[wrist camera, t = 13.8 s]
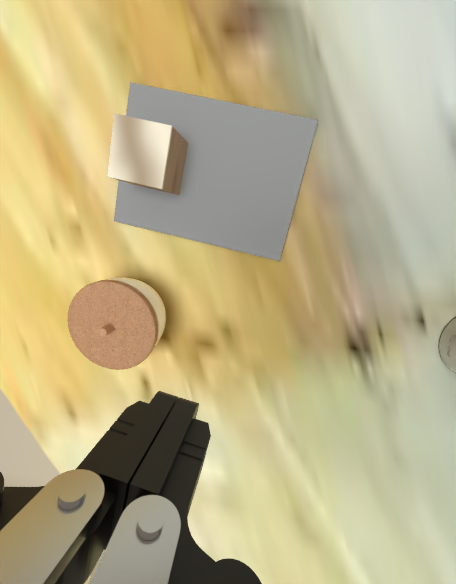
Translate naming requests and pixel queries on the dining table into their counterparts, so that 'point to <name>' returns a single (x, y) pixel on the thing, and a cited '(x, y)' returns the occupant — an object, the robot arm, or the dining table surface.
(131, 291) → the lidded jar
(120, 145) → the walnut cube
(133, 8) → the dining table surface
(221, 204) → the mat
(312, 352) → the dining table surface
